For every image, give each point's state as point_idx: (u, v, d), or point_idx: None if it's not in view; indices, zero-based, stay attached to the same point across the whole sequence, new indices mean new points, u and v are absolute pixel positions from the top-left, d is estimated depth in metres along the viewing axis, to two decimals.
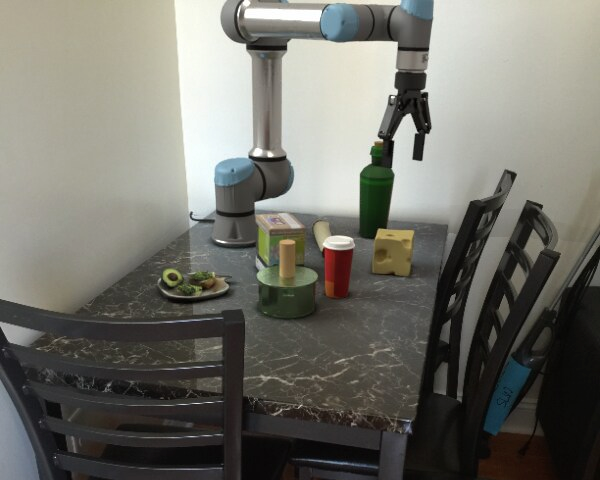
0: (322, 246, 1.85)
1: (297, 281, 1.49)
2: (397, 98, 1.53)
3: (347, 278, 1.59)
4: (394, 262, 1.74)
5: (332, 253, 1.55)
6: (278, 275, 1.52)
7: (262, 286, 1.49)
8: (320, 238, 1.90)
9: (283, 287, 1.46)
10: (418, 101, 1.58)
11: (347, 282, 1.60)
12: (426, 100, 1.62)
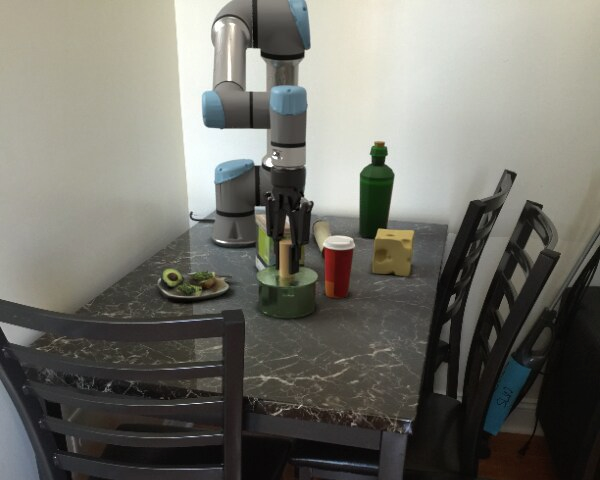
0: (322, 246, 1.85)
1: (297, 281, 1.49)
2: (263, 196, 1.46)
3: (347, 278, 1.59)
4: (394, 262, 1.74)
5: (332, 253, 1.55)
6: (278, 275, 1.52)
7: (262, 286, 1.49)
8: (320, 238, 1.90)
9: (283, 287, 1.46)
10: (286, 200, 1.40)
11: (347, 282, 1.60)
12: (302, 210, 1.40)
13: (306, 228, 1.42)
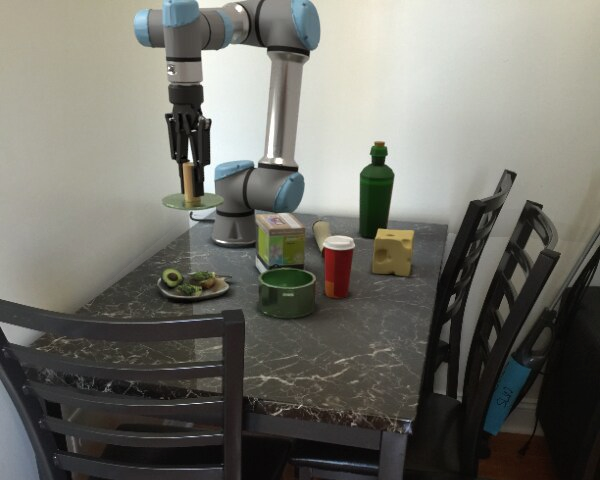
0: (322, 246, 1.85)
1: (201, 203, 1.49)
2: (165, 117, 1.46)
3: (347, 278, 1.59)
4: (394, 262, 1.74)
5: (332, 253, 1.55)
6: (184, 199, 1.52)
7: (262, 286, 1.49)
8: (320, 238, 1.90)
9: (185, 208, 1.46)
10: (184, 118, 1.41)
11: (347, 282, 1.60)
12: (199, 127, 1.40)
13: (206, 147, 1.42)
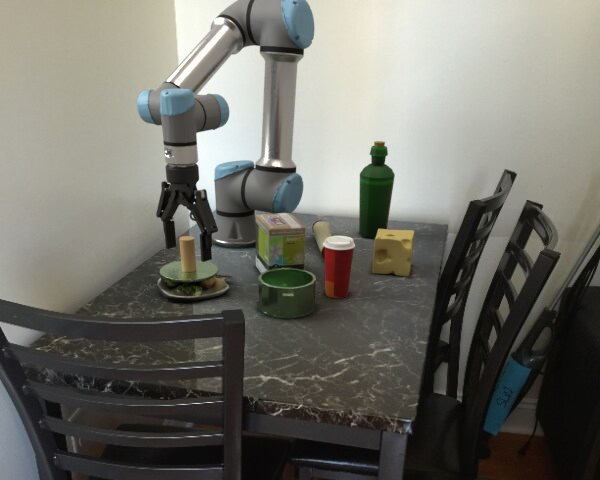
0: (321, 246, 1.85)
1: (196, 275, 1.58)
2: (161, 184, 1.54)
3: (347, 278, 1.59)
4: (394, 262, 1.74)
5: (332, 253, 1.55)
6: (180, 269, 1.61)
7: (262, 286, 1.49)
8: (320, 238, 1.90)
9: (181, 280, 1.56)
10: (181, 195, 1.50)
11: (347, 282, 1.60)
12: (197, 199, 1.48)
13: (208, 215, 1.49)
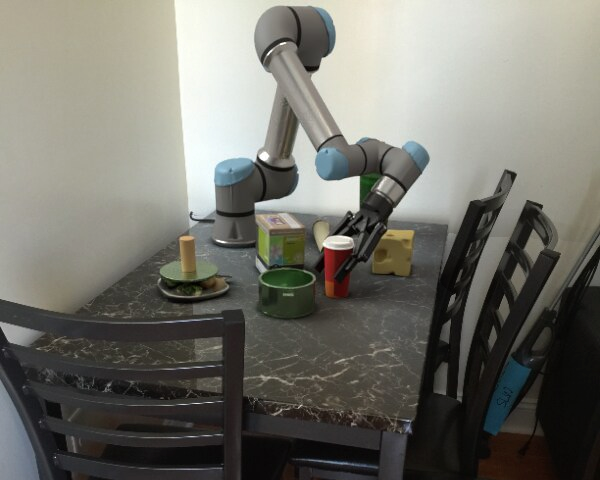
0: (321, 246, 1.85)
1: (196, 275, 1.58)
2: None
3: (347, 278, 1.59)
4: (394, 262, 1.74)
5: (332, 253, 1.55)
6: (180, 269, 1.61)
7: (262, 286, 1.49)
8: (319, 238, 1.90)
9: (181, 280, 1.56)
10: None
11: (347, 282, 1.60)
12: None
13: None
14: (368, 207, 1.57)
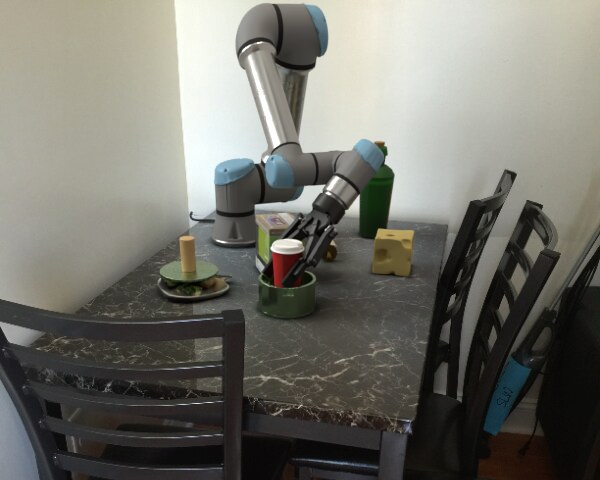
0: None
1: (196, 275, 1.58)
2: None
3: (297, 284, 1.51)
4: (394, 262, 1.74)
5: (279, 257, 1.47)
6: (180, 269, 1.62)
7: (262, 286, 1.49)
8: None
9: (181, 280, 1.56)
10: None
11: None
12: None
13: None
14: (319, 209, 1.48)
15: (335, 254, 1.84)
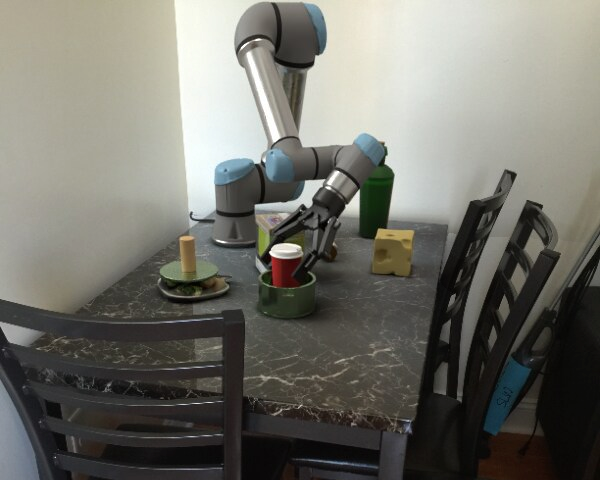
0: None
1: (196, 275, 1.58)
2: None
3: None
4: (394, 262, 1.74)
5: (278, 262, 1.48)
6: (180, 269, 1.61)
7: (262, 286, 1.49)
8: None
9: (181, 280, 1.56)
10: None
11: None
12: None
13: None
14: (319, 203, 1.47)
15: (335, 254, 1.84)
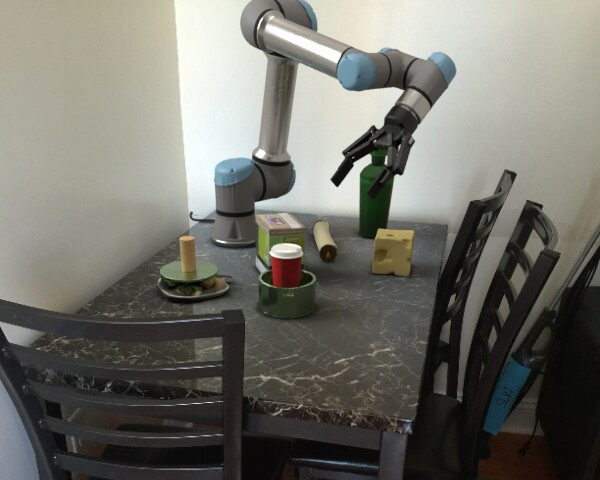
0: (320, 246, 1.85)
1: (196, 275, 1.58)
2: None
3: None
4: (394, 262, 1.74)
5: (278, 262, 1.48)
6: (180, 269, 1.62)
7: (262, 286, 1.49)
8: (318, 238, 1.90)
9: (181, 280, 1.56)
10: None
11: None
12: None
13: None
14: (392, 121, 1.49)
15: (334, 254, 1.84)
